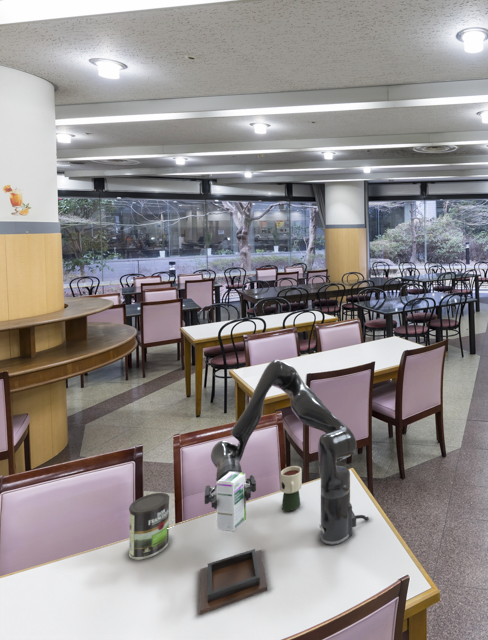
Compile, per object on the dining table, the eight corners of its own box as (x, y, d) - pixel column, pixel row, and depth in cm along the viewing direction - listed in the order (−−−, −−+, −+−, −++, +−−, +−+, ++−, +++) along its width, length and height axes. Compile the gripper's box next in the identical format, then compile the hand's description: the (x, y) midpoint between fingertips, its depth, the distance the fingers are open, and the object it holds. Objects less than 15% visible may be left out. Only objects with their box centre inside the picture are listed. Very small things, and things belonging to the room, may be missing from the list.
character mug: (279, 501, 156) (280, 465, 156) (300, 497, 159) (300, 461, 159) (281, 519, 146) (281, 480, 146) (302, 514, 149) (302, 476, 149)
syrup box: (233, 532, 125) (234, 482, 125) (216, 530, 126) (216, 480, 126) (246, 520, 131) (246, 472, 131) (229, 517, 132) (229, 470, 132)
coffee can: (176, 540, 136) (177, 495, 136) (145, 563, 126) (145, 515, 126) (153, 533, 139) (153, 489, 139) (120, 555, 129) (120, 508, 129)
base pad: (260, 553, 130) (260, 543, 130) (267, 590, 116) (267, 579, 116) (200, 572, 123) (200, 561, 123) (199, 614, 108) (199, 602, 109)
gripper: (204, 469, 138) (204, 495, 124) (252, 458, 145) (257, 482, 130) (204, 492, 138) (204, 521, 123) (252, 481, 145) (257, 507, 130)
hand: (231, 501), depth 127 cm, fingers closed on syrup box, 8 cm apart
